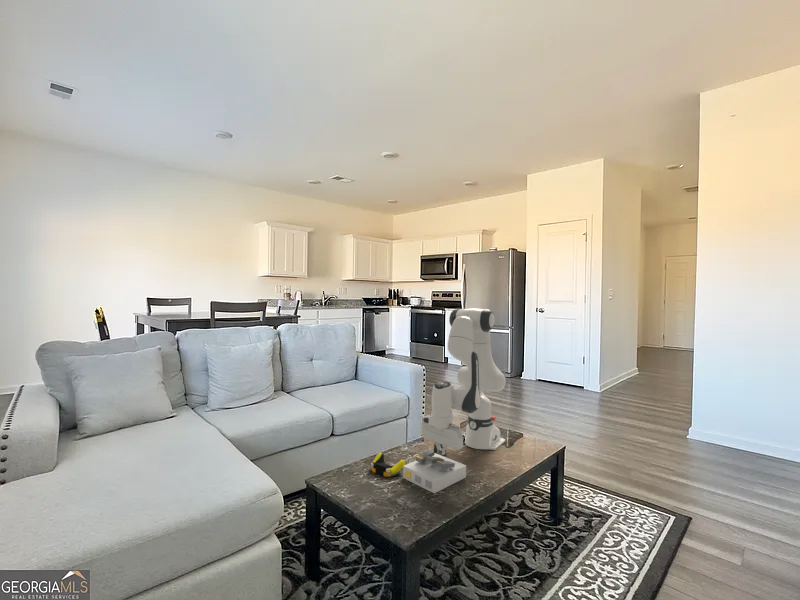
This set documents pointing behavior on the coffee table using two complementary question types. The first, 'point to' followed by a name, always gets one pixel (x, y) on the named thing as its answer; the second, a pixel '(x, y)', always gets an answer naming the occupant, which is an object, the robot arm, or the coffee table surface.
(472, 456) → the coffee table surface
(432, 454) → the block
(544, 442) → the coffee table surface
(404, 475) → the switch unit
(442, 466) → the block
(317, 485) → the coffee table surface
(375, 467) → the gaming controller
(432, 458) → the block
